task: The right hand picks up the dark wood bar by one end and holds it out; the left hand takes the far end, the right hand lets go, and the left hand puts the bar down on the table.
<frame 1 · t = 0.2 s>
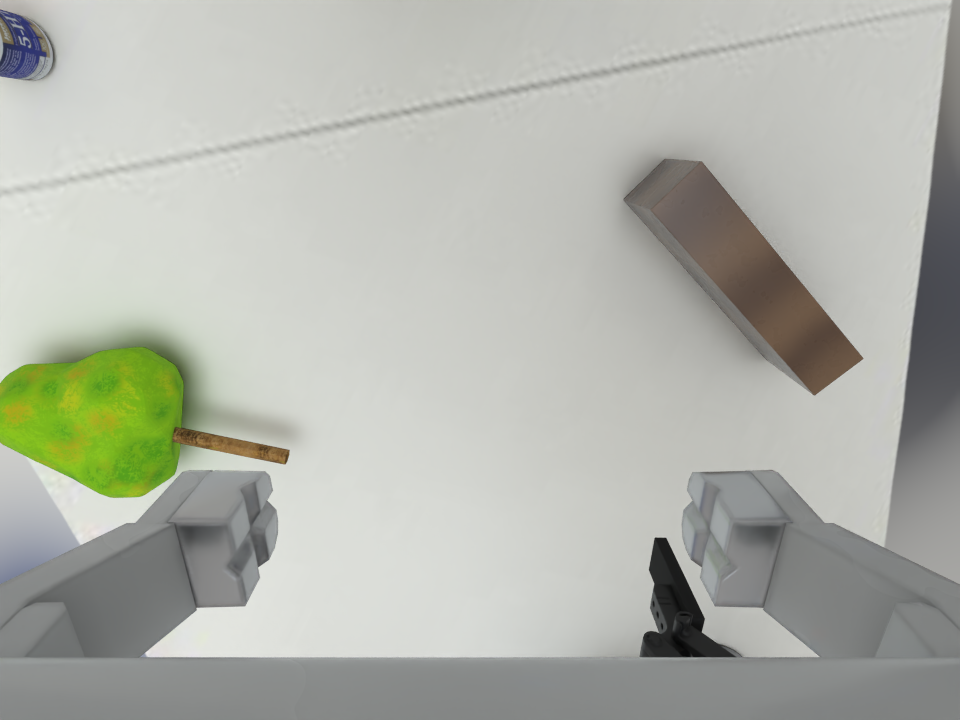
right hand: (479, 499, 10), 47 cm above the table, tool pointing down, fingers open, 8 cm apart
bar: (719, 266, 56), on the table
decorative tree: (172, 405, 63), on the table
pill bottle: (26, 48, 49), on the table
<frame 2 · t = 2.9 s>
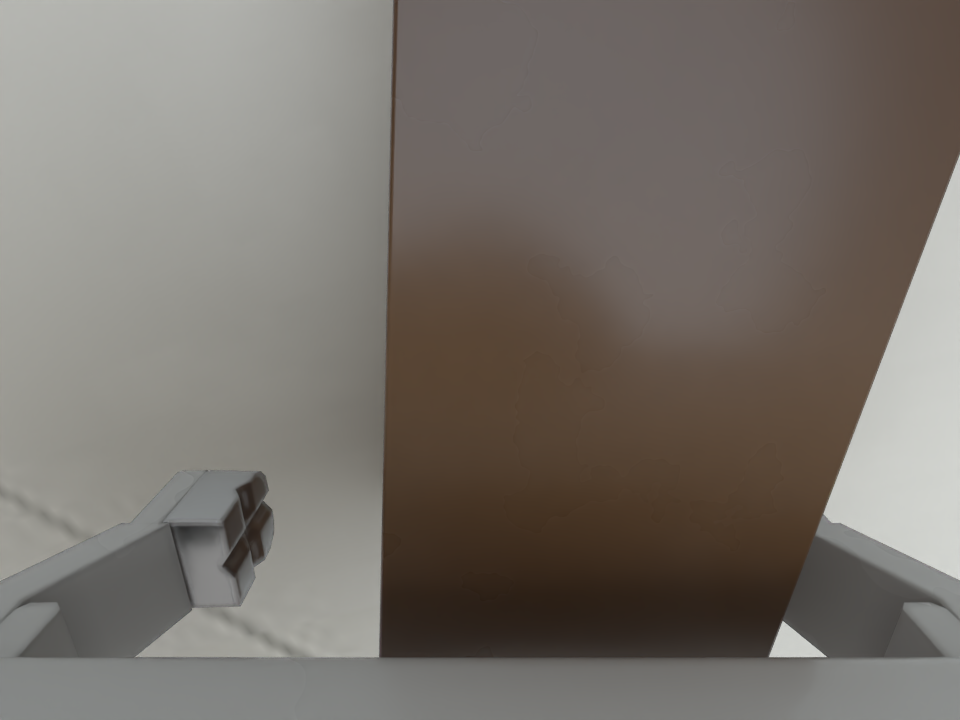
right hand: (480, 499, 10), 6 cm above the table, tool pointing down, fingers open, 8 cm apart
bar: (561, 90, 13), on the table, touching right hand
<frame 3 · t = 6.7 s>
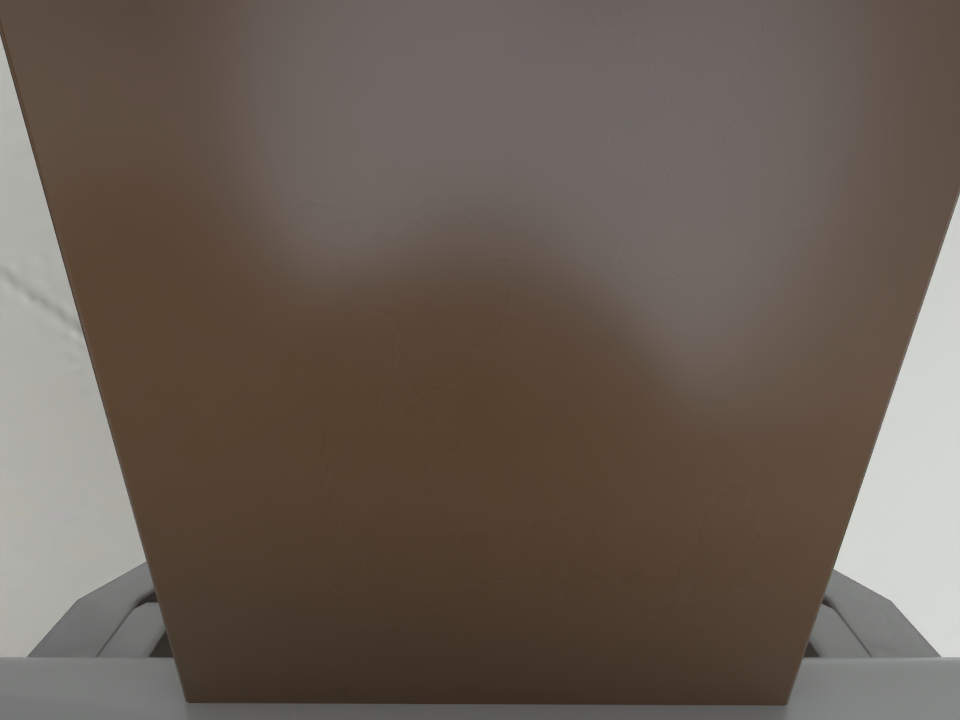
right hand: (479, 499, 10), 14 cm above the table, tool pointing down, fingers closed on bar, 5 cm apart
bar: (489, 28, 11), point 10 cm above the table, touching right hand
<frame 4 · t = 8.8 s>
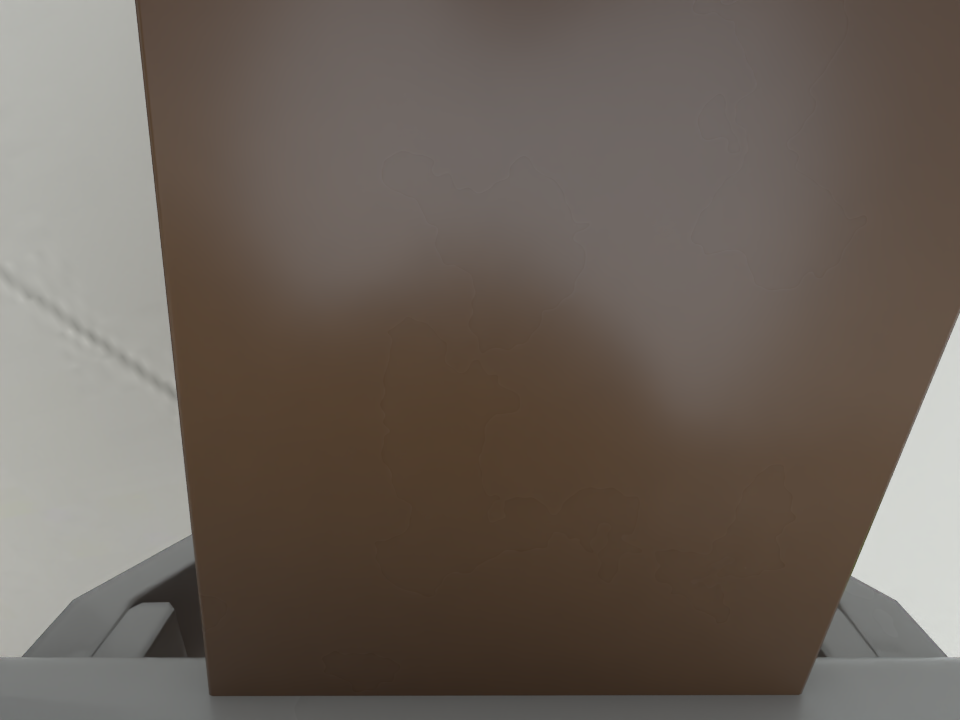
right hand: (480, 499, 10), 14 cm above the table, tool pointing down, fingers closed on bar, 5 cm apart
bar: (521, 40, 11), point 10 cm above the table, touching right hand, left hand
when the right hand's fingers open (14 cm above the table, at t = 9.8 s): bar moves 1 cm, held by the left hand.
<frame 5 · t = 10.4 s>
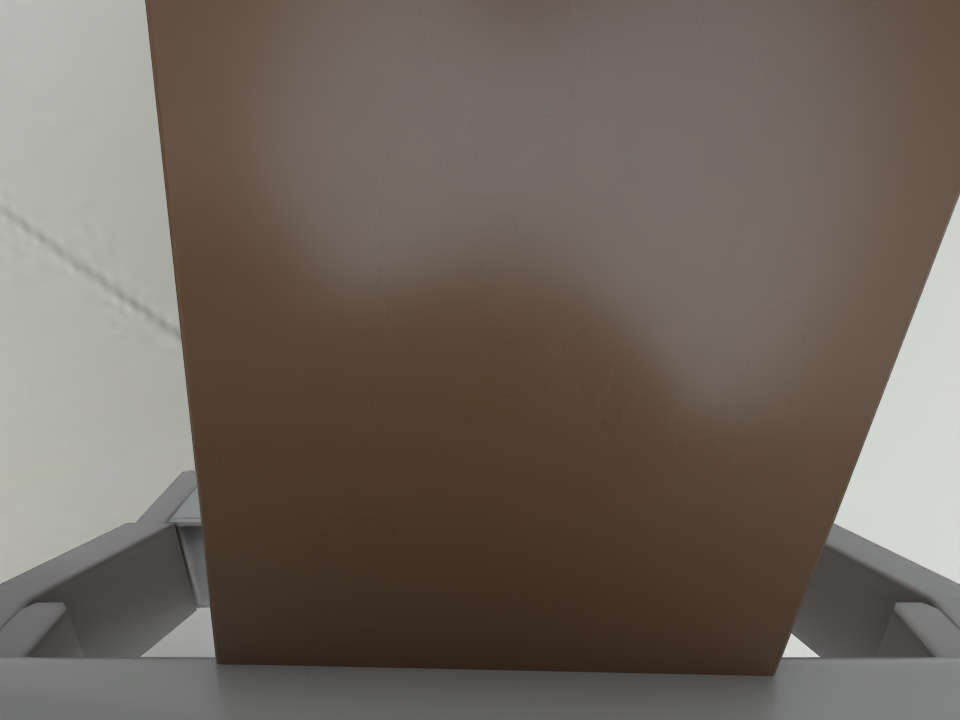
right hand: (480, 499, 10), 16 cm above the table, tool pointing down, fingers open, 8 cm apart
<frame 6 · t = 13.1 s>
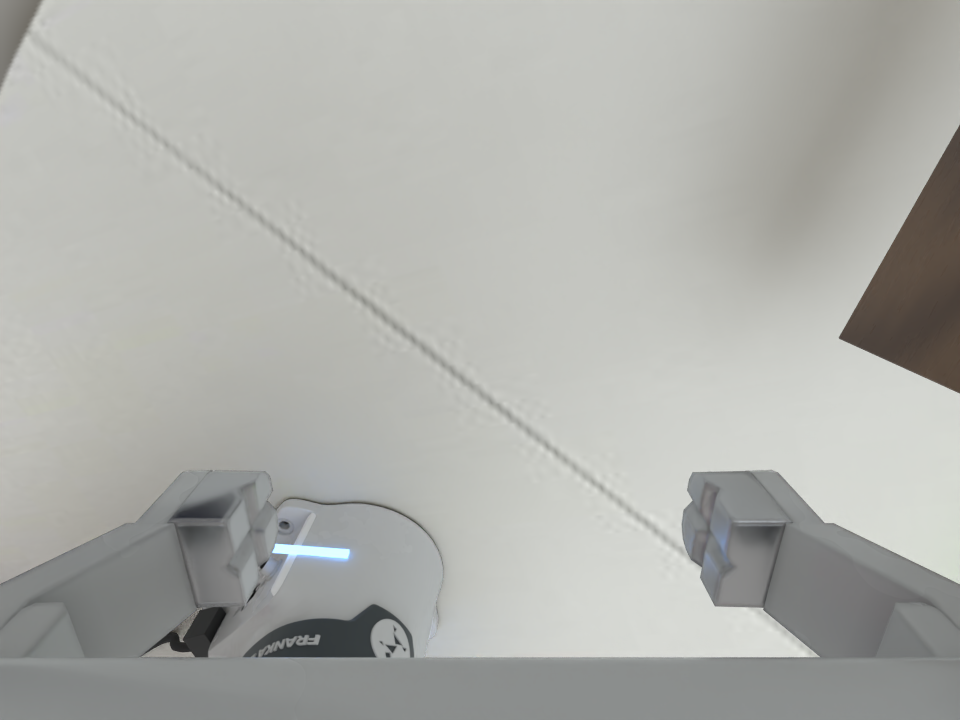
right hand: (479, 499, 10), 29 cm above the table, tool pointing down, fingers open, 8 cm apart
when the left hand's fingers open (2 cm above the table, at t = 17.4 s): bar drops 1 cm, on the table.
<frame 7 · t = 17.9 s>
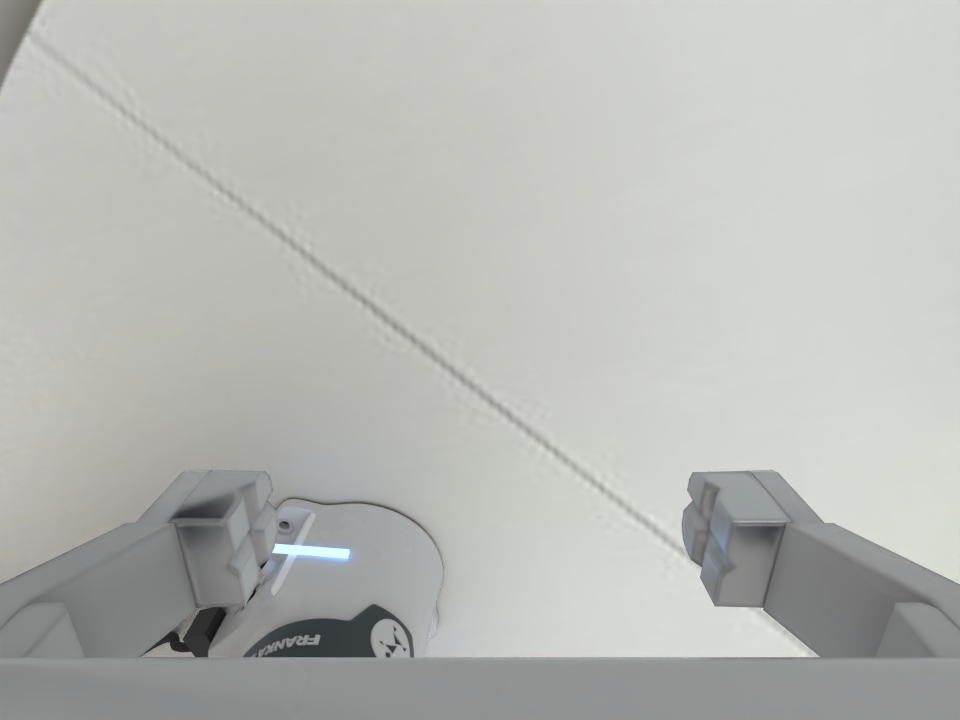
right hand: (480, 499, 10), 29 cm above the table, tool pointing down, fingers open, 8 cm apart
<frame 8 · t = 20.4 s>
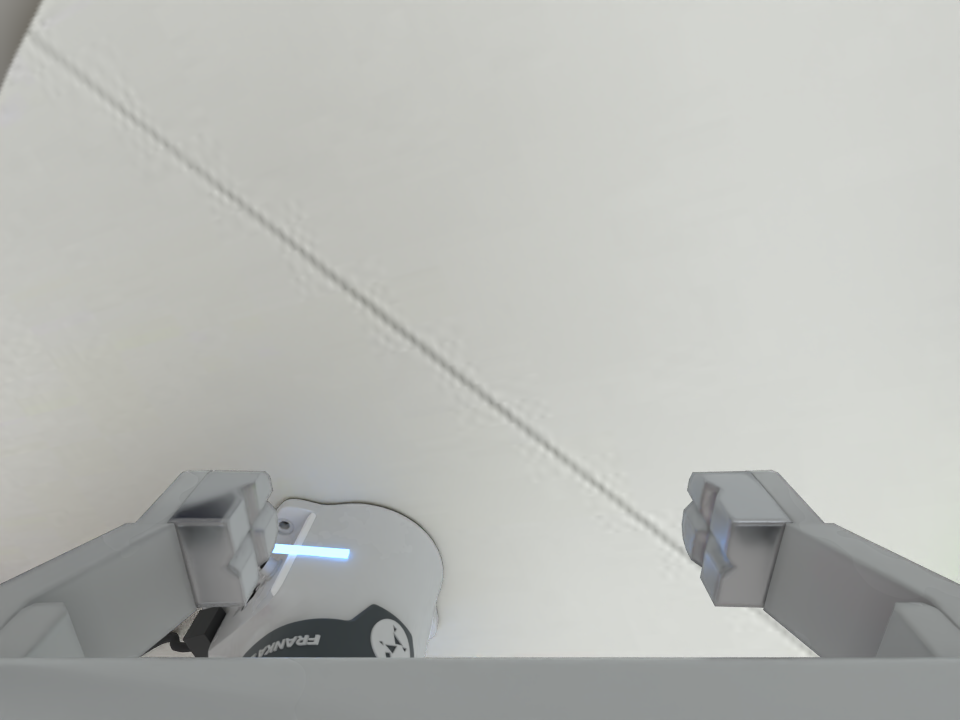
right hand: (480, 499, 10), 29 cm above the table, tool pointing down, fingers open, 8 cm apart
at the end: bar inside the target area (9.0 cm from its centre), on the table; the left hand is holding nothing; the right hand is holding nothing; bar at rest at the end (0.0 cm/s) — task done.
